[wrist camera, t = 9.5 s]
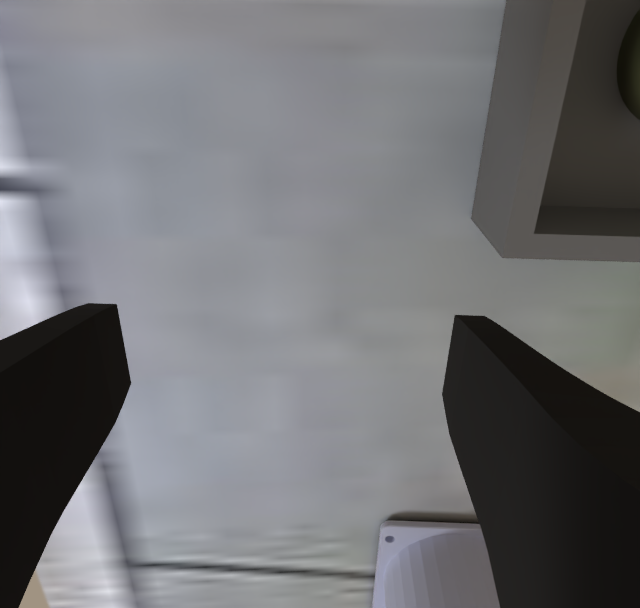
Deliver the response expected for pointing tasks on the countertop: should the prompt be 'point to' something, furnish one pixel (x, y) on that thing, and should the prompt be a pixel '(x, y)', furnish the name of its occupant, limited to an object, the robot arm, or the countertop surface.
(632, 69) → the green cylinder
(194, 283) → the countertop surface
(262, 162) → the countertop surface
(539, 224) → the bin
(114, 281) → the countertop surface
